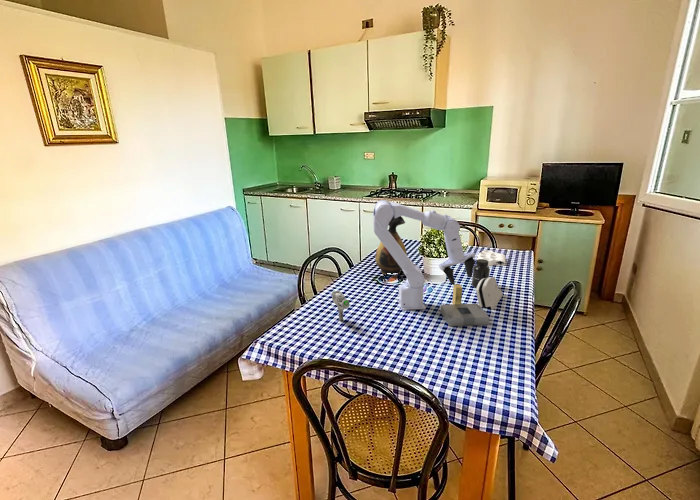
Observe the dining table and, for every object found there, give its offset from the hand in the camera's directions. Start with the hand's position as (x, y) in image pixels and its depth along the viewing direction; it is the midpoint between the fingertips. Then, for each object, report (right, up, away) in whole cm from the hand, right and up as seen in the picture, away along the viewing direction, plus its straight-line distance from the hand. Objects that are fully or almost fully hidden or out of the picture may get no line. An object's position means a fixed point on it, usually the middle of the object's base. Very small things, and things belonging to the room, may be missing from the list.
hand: (461, 280), depth 142 cm
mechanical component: (-46, -14, -7) cm, 49 cm away
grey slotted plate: (-1, -13, -7) cm, 15 cm away
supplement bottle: (+14, -5, +20) cm, 25 cm away
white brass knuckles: (+31, +5, +51) cm, 60 cm away
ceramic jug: (-24, +1, +38) cm, 45 cm away
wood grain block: (-1, -10, +3) cm, 10 cm away
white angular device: (+13, -9, +7) cm, 17 cm away
